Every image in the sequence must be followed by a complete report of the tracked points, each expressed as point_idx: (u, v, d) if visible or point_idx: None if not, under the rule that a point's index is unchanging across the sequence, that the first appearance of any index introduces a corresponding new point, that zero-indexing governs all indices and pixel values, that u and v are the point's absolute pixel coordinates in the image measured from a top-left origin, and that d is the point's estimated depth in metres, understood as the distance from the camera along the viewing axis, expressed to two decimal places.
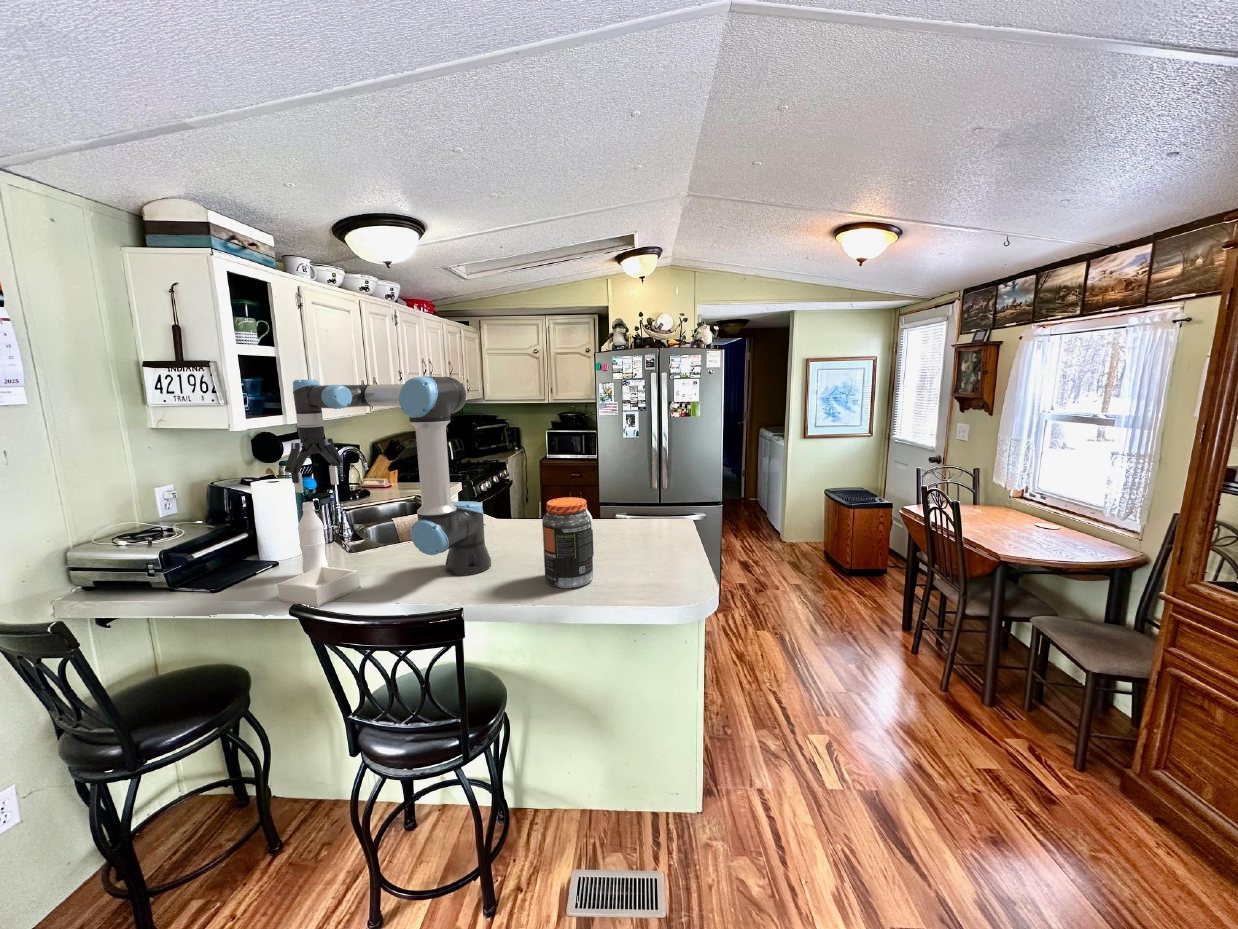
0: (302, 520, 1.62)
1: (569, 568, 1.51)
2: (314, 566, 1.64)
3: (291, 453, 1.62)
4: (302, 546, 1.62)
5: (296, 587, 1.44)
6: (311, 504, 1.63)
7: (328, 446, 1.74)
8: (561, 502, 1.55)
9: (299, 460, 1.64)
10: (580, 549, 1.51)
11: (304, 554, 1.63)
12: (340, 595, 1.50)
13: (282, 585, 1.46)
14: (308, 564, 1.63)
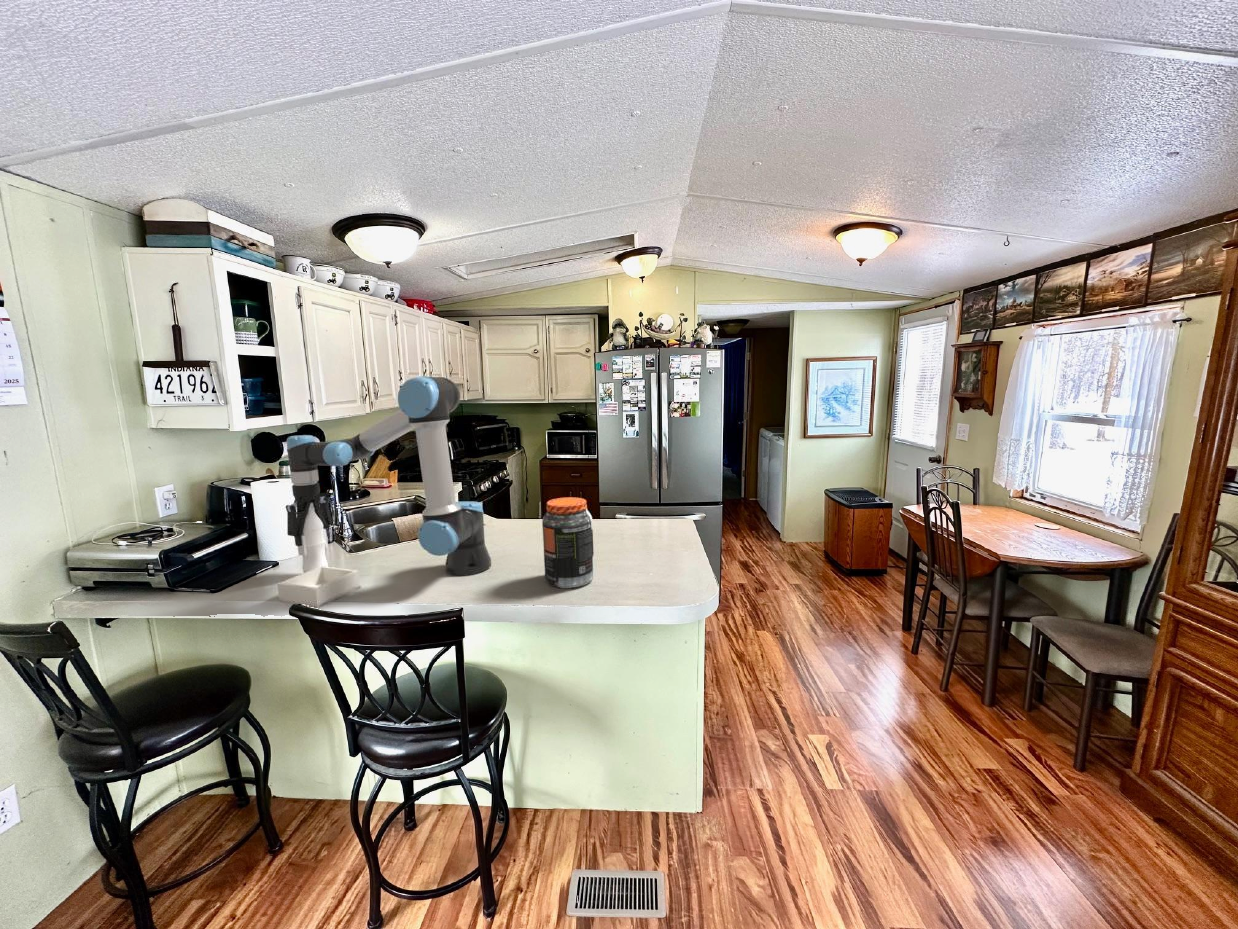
0: None
1: (569, 568, 1.51)
2: (314, 566, 1.64)
3: (289, 517, 1.58)
4: None
5: (296, 587, 1.44)
6: (311, 504, 1.63)
7: (322, 504, 1.68)
8: (561, 502, 1.55)
9: (299, 522, 1.60)
10: (580, 549, 1.52)
11: None
12: (340, 595, 1.50)
13: (282, 585, 1.46)
14: (308, 564, 1.63)
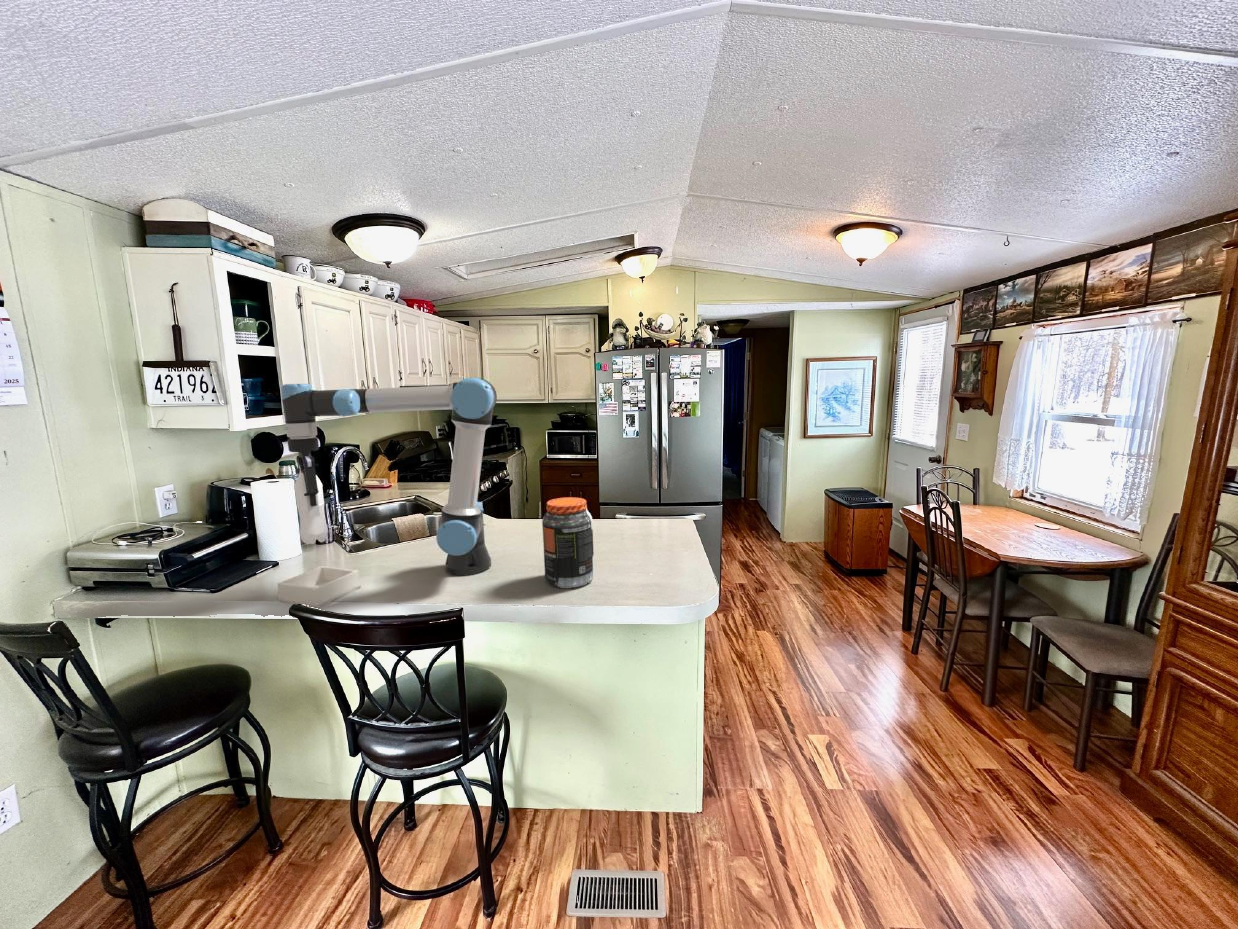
0: None
1: (569, 568, 1.51)
2: (324, 528, 1.50)
3: (308, 473, 1.42)
4: None
5: (296, 587, 1.44)
6: None
7: None
8: (561, 502, 1.55)
9: None
10: (580, 549, 1.52)
11: None
12: (340, 595, 1.50)
13: (282, 585, 1.46)
14: (318, 527, 1.48)
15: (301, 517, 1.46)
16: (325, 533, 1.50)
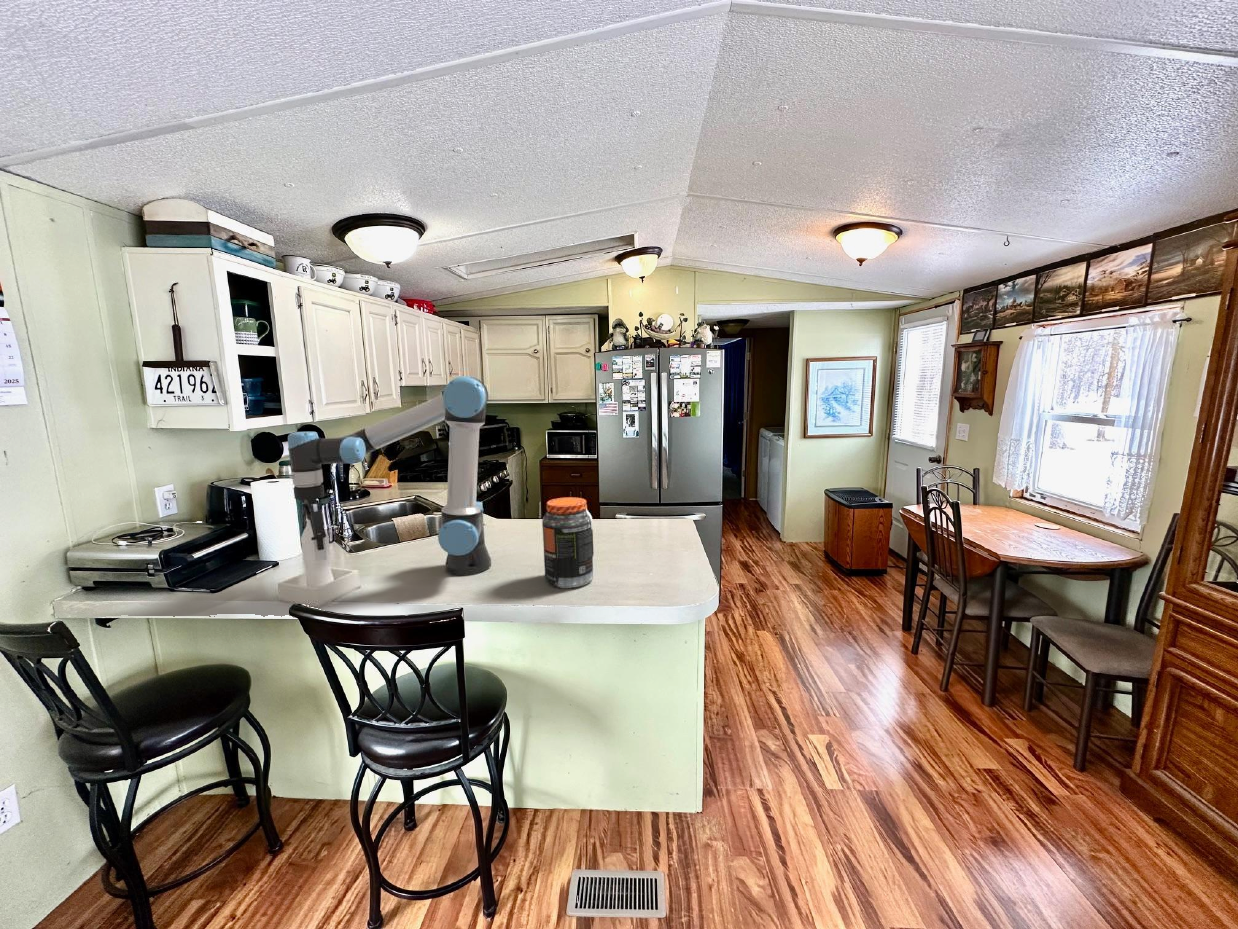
0: None
1: (569, 568, 1.51)
2: (330, 578, 1.51)
3: (315, 517, 1.42)
4: None
5: (296, 587, 1.44)
6: None
7: None
8: (561, 502, 1.55)
9: None
10: (580, 549, 1.52)
11: (318, 568, 1.48)
12: (340, 595, 1.50)
13: (282, 585, 1.46)
14: (324, 578, 1.49)
15: (308, 569, 1.47)
16: None
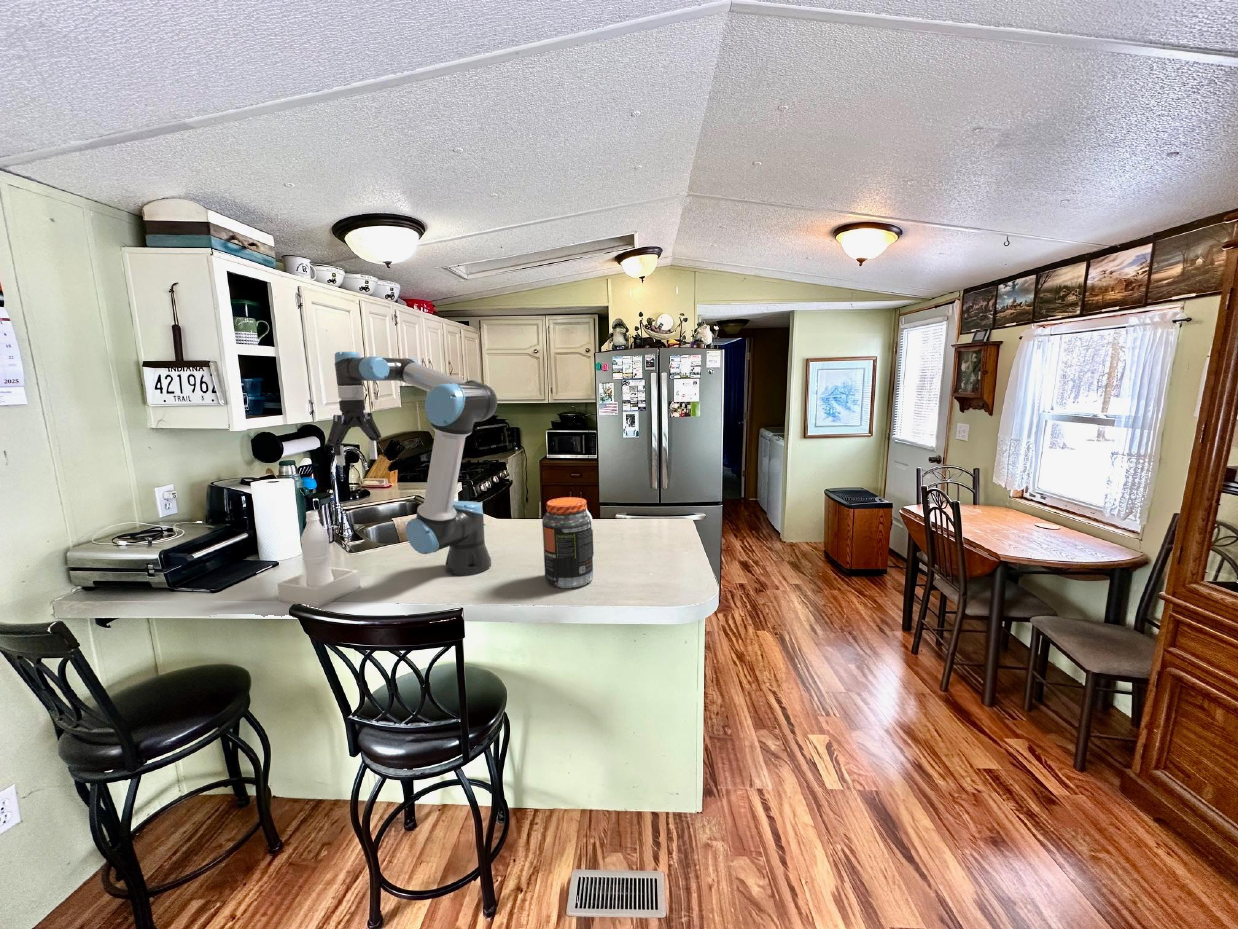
0: (314, 531, 1.47)
1: (569, 568, 1.51)
2: (330, 578, 1.51)
3: (333, 426, 1.61)
4: (318, 559, 1.47)
5: (296, 587, 1.44)
6: None
7: (367, 420, 1.74)
8: (561, 502, 1.55)
9: (341, 433, 1.63)
10: (580, 549, 1.52)
11: (318, 568, 1.48)
12: (340, 595, 1.50)
13: (282, 585, 1.46)
14: (324, 578, 1.49)
15: (307, 569, 1.48)
16: None
